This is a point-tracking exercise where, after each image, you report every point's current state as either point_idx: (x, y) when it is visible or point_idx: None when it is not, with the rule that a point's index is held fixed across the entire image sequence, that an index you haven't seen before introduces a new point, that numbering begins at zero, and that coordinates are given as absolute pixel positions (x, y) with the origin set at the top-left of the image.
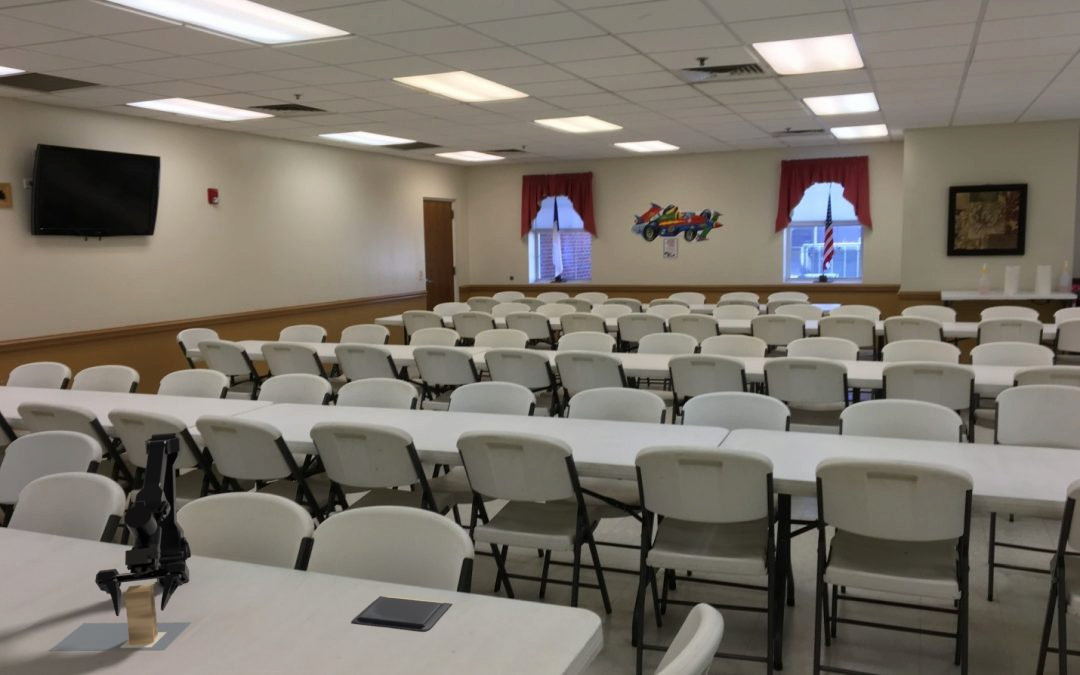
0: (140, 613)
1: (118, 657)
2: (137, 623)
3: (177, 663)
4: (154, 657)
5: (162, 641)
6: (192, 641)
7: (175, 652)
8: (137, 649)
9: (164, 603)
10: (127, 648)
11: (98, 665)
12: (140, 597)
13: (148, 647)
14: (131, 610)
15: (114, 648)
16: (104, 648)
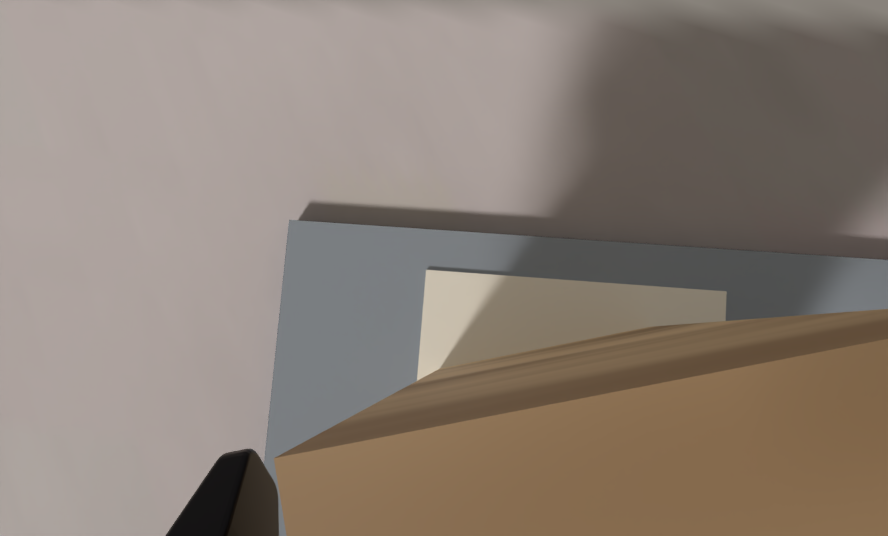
0: (559, 359)
1: (665, 161)
2: (595, 345)
3: (122, 32)
4: (345, 140)
5: (368, 383)
6: (122, 400)
7: (201, 212)
8: (539, 248)
9: (171, 530)
10: (644, 272)
11: (774, 35)
12: (564, 379)
13: (449, 272)
14: (717, 332)
15: (774, 284)
16: (878, 295)
